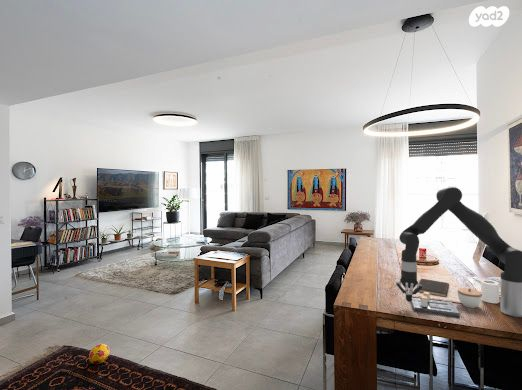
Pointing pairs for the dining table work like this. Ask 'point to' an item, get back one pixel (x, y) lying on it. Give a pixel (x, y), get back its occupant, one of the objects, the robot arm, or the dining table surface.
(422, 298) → the fader
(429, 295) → the fader
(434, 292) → the hardcover book
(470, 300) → the lidded jar
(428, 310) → the console
